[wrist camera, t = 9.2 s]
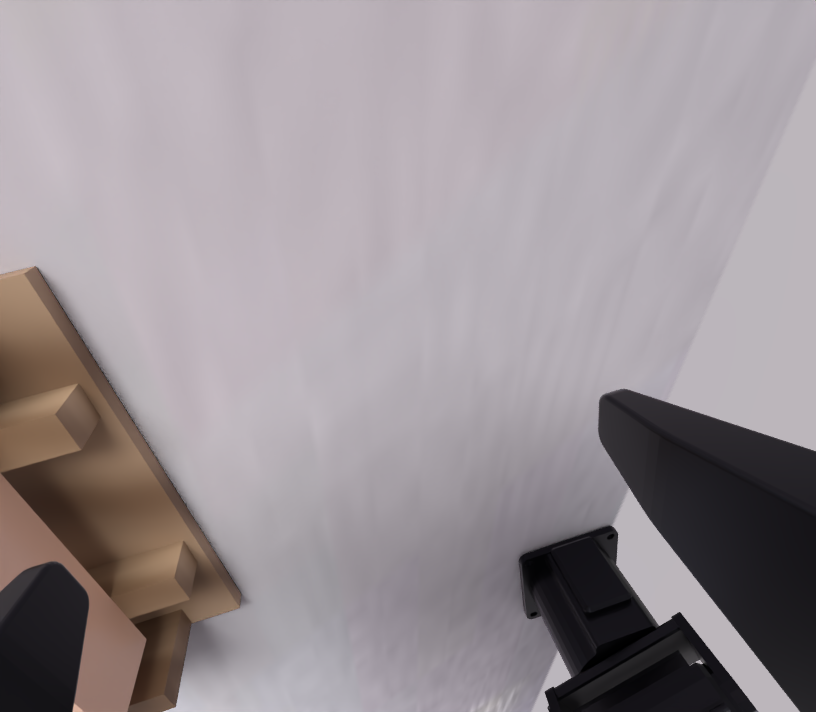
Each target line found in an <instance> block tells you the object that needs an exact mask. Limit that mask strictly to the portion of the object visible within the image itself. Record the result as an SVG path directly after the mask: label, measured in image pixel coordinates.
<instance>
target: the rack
mask: <svg viewBox="0 0 816 712" xmlns="http://www.w3.org/2000/svg"><path fill="white" fill-rule="evenodd" d="M0 473H1V474H2V475H3V477H4V478H5V479H6V480H7V481H8V482H9V483H10V485H11V486H12V487H13V488H14V489H15V490H16V491H17V492H18V494H19V495H20V496H21V497H22V498H23V499H24V500H25V502H26V503H27V504H28V505H29V506H30V507H31V508H32V510H33V511H34V512H35V513H36V514H37V515H38V516H39V517H40V519H41V520H42V521H43V522H44V523H45V524H46V525H47V527H48V528H49V529H50V530H51V531H52V532H53V533H54V535H55V536H56V537H57V538H58V539H59V540H60V541H61V542H62V544H63V545H64V546H65V547H66V548H67V549H68V550H69V552H70V553H71V554H72V555H73V556H74V557H75V558H76V560H77V561H78V562H79V563H80V564H81V565H82V566H83V567H84V569H85V570H86V571H87V572H88V573H89V574H90V575H91V577H92V578H93V579H94V580H95V581H96V582H97V583H98V584H99V586H100V587H101V588H102V589H103V590H104V591H105V592H106V594H107V595H108V596H109V597H110V598H111V599H112V600H113V602H114V603H115V604H116V605H117V606H118V607H119V608H120V609H121V611H122V612H123V613H124V614H125V615H126V616H127V617H128V619H129V620H130V621H131V622H132V623H133V624H134V625H135V627H136V628H137V629H138V630H139V631H140V632H141V633H142V634H143V636H144V637H145V638H146V639H147V640H146V643H145V647H144V651H143V655H142V658H141V662H140V666H139V670H138V674H137V677H136V681H135V685H134V689H133V692H132V696H131V700H130V704H129V707H128V711H127V712H163V711H166V710H168V709H171V708H174V707H176V703H177V698H178V692H179V687H180V682H181V676H182V671H183V666H184V660H185V655H186V650H187V644H188V639H189V634H190V628H191V624H192V623H195V622H198V621H201V620H204V619H207V618H210V617H213V616H216V615H219V614H222V613H226V612H229V611H232V610H235V609H238V608H240V601H241V593H240V592H239V590H238V588H237V587H236V585H235V584H234V582H233V580H232V579H231V577H230V576H229V574H228V572H227V571H226V569H225V568H224V566H223V565H222V563H221V561H220V560H219V558H218V557H217V555H216V553H215V552H214V550H213V549H212V547H211V545H210V544H209V542H208V541H207V539H206V537H205V536H204V534H203V533H202V531H201V529H200V528H199V526H198V525H197V523H196V521H195V520H194V518H193V517H192V515H191V513H190V512H189V510H188V509H187V507H186V505H185V504H184V502H183V501H182V499H181V497H180V496H179V494H178V493H177V491H176V490H175V488H174V486H173V485H172V483H171V482H170V480H169V478H168V477H167V475H166V474H165V472H164V470H163V469H162V467H161V466H160V464H159V462H158V461H157V459H156V458H155V456H154V454H153V453H152V451H151V450H150V448H149V446H148V445H147V443H146V442H145V440H144V438H143V437H142V435H141V434H140V432H139V430H138V429H137V427H136V426H135V424H134V423H133V421H132V419H131V418H130V416H129V415H128V413H127V411H126V410H125V408H124V407H123V405H122V403H121V402H120V400H119V399H118V397H117V395H116V394H115V392H114V391H113V389H112V387H111V386H110V384H109V383H108V381H107V379H106V378H105V376H104V375H103V373H102V371H101V370H100V368H99V367H98V365H97V363H96V362H95V360H94V359H93V357H92V356H91V354H90V352H89V351H88V349H87V348H86V346H85V344H84V343H83V341H82V340H81V338H80V336H79V335H78V333H77V332H76V330H75V328H74V327H73V325H72V324H71V322H70V320H69V319H68V317H67V316H66V314H65V312H64V311H63V309H62V308H61V306H60V304H59V303H58V301H57V300H56V298H55V296H54V295H53V293H52V292H51V290H50V288H49V287H48V285H47V284H46V282H45V281H44V279H43V277H42V276H41V274H40V273H39V271H38V269H37V268H36V266H34V267H30V268H26V269H22V270H18V271H14V272H10V273H6V274H1V275H0Z"/></svg>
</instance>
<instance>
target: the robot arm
mask: <svg viewBox="0 0 816 712" xmlns="http://www.w3.org/2000/svg"><path fill="white" fill-rule="evenodd" d="M598 432H599V437H600V440H601V443H602V445H603V446H604V448H605V450H606V451H607V453H608V454H609V456H610V458H611V459H612V461H613V462H614V464H615V466H616V467H617V469H618V470H619V472H620V473H621V475H622V477H623V478H624V480H625V481H626V483H627V485H628V486H629V488H630V489H631V491H632V492H633V494H634V496H635V497H636V499H637V501H638V502H639V504H640V505H641V507H642V508H643V510H644V511H645V513H646V514H647V516H648V517H649V519H650V520H651V522H652V523H653V524H654V526H655V527H656V528H657V530H658V531H659V532H660V533H661V535H662V536H663V537H664V539H665V540H666V541H667V542H668V544H669V545H670V546H671V548H672V549H673V550H674V551H675V553H676V554H677V555H678V557H679V558H680V559H681V560H682V562H683V563H684V564H685V565H686V566H687V568H688V569H689V570H690V572H691V573H692V574H693V576H694V577H695V578H696V579H697V581H698V582H699V583H700V585H701V586H702V587H703V588H704V590H705V591H706V592H707V593H708V595H709V596H710V597H711V599H712V600H713V601H714V602H715V604H716V605H717V606H718V608H719V609H720V610H721V611H722V613H723V614H724V615H725V616H726V618H727V619H728V620H729V622H730V623H731V624H732V625H733V627H734V628H735V629H736V630H737V632H738V633H739V634H740V636H741V637H742V638H743V639H744V641H745V642H746V643H747V645H748V646H749V647H750V648H751V650H752V651H753V652H754V653H755V655H756V656H757V657H758V659H759V660H760V661H761V662H762V664H763V665H764V666H765V667H766V669H767V670H768V671H769V673H770V674H771V675H772V676H773V678H774V679H775V680H776V681H777V683H778V684H779V685H780V687H781V688H782V689H783V690H784V692H785V693H786V694H787V696H788V697H789V698H790V699H791V701H792V702H793V703H794V705H795V706H796V707H797V708H798V710H799V711H800V712H816V451H813V450H810V449H807V448H804V447H801V446H798V445H795V444H792V443H789V442H786V441H783V440H780V439H777V438H774V437H771V436H768V435H764V434H762V433H758V432H755V431H752V430H749V429H746V428H743V427H740V426H737V425H734V424H731V423H728V422H725V421H722V420H719V419H716V418H713V417H710V416H707V415H704V414H700V413H698V412H695V411H692V410H689V409H685V408H682V407H679V406H676V405H673V404H670V403H667V402H664V401H661V400H658V399H655V398H652V397H649V396H646V395H643V394H640V393H637V392H634V391H631V390H627V389H620V390H616V391H613V392H610V393H606V394H604V395H602V396H601V398H600V400H599V424H598ZM617 542H618V533H617V531H616V530H615V528H614V527H612V526H608V527H605V528H602V529H599V530H596V531H593V532H590V533H587V534H584V535H581V536H578V537H575V538H572V539H569V540H566V541H563V542H560V543H557V544H554V545H551V546H548V547H545V548H542V549H539V550H536V551H533V552H530V553H527V554H524V555H523V556H521V557H520V559H519V566H520V575H521V585H522V594H523V603H524V611H525V614H526V616H527V618H529V619H533V618H537V617H539V616H542V618H543V620H544V622H545V624H546V626H547V628H548V630H549V632H550V634H551V636H552V638H553V640H554V643H555V645H556V647H557V649H558V651H559V653H560V655H561V657H562V659H563V661H564V663H565V665H566V667H567V669H568V671H569V673H570V675H571V677H572V678H571V679H569V680H567V681H566V682H564V683H562V684H561V685H559V686H557V687H555V688H554V687H552V688H550V689H548V690H547V691H545V694H546V698H547V700H548V703H549V706H548V710H549V712H758V711H757V710H756V708H755V707H754V706H753V704H752V703H751V702H750V700H749V699H748V698H747V696H746V695H745V694H744V693H743V691H742V690H741V689H740V687H739V686H738V685H737V684H736V682H735V681H734V680H733V679H732V677H731V676H730V675H729V673H728V672H727V671H726V670H725V668H724V667H723V666H722V664H721V663H720V662H719V661H718V660H717V658H716V657H715V656H714V654H713V653H712V652H711V651H710V649H709V648H708V647H707V646H706V644H705V643H704V642H703V641H702V639H701V638H700V637H699V635H698V634H697V633H696V632H695V630H694V629H693V628H692V627H691V625H690V624H689V623H688V622H687V620H686V619H685V618H684V617H683V615H682V614H681V613H680V612H679V613H677V614H675V615H674V616H672V619H671V620H669V621H667V622H666V623H664V624H662V625H661V626H659V625H658V624H657V622H656V621H655V619H654V618H653V617H652V615H651V614H650V612H649V611H648V610H647V608H646V607H645V605H644V604H643V603H642V601H641V600H640V598H639V597H638V595H637V594H636V593H635V591H634V590H633V588H632V587H631V586H630V584H629V583H628V581H627V580H626V579H625V577H624V576H623V574H622V573H621V571H620V570H619V568H618V567H617V566H616V559H617ZM88 612H89V597H88V594H87V591H86V590H85V588H84V587H83V586H82V585H81V584H80V583H79V582H78V581H77V580H76V578H75V577H74V576H73V575H72V574H71V573H70V572H69V571H68V570H67V569H66V567H65V566H64V565H63V564H61V563H59V562H57V561H50V562H47V563H43V564H40V565H37V566H33V567H30V568H28V569H26V570H24V571H22V572H21V573H20V574H19V575H18V576H17V577H15V578H14V579H13V580H12V581H11V582H10V583H9V584H8V585H7V586H6V587H5V588H4V589H3V590H1V591H0V712H73V707H74V701H75V696H76V690H77V684H78V677H79V671H80V664H81V658H82V651H83V645H84V638H85V632H86V625H87V619H88ZM698 660H701V662H702V663H703V664H698V663H694V662H696V661H698ZM692 663H694V664H692ZM691 664H692V665H691ZM689 665H690V666H689Z"/></svg>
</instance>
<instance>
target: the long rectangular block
mask: <svg viewBox="0 0 816 712" xmlns="http://www.w3.org/2000/svg"><path fill="white" fill-rule="evenodd" d="M50 561H57V562H59V563H61V564H63V565H64V566H65V567H66V569H67V570H68V571H69V572H70V573H71V574H72V575H73V576H74V577H75V578H76V580H77V581H78V582H79V583H80V584H81V585H82V586H83V587H84V588H85V590H86V591H87V594H88V597H89V612H88V619H87V625H86V632H85V638H84V645H83V651H82V658H81V664H80V671H79V677H78V684H77V690H76V696H75V701H74V707H73V712H127V711H128V707H129V704H130V700H131V696H132V692H133V689H134V685H135V681H136V677H137V674H138V670H139V666H140V662H141V658H142V655H143V651H144V647H145V643H146V640H147V639H146V638H145V637H144V636H143V634H142V633H141V632H140V631H139V630H138V629H137V628H136V627H135V625H134V624H133V623H132V622H131V621H130V620H129V619H128V617H127V616H126V615H125V614H124V613H123V612H122V611H121V609H120V608H119V607H118V606H117V605H116V604H115V603H114V602H113V600H112V599H111V598H110V597H109V596H108V595H107V594H106V592H105V591H104V590H103V589H102V588H101V587H100V586H99V584H98V583H97V582H96V581H95V580H94V579H93V578H92V577H91V575H90V574H89V573H88V572H87V571H86V570H85V569H84V567H83V566H82V565H81V564H80V563H79V562H78V561H77V560H76V558H75V557H74V556H73V555H72V554H71V553H70V552H69V550H68V549H67V548H66V547H65V546H64V545H63V544H62V542H61V541H60V540H59V539H58V538H57V537H56V536H55V535H54V533H53V532H52V531H51V530H50V529H49V528H48V527H47V525H46V524H45V523H44V522H43V521H42V520H41V519H40V517H39V516H38V515H37V514H36V513H35V512H34V511H33V510H32V508H31V507H30V506H29V505H28V504H27V503H26V502H25V500H24V499H23V498H22V497H21V496H20V495H19V494H18V492H17V491H16V490H15V489H14V488H13V487H12V486H11V485H10V483H9V482H8V481H7V480H6V479H5V478H4V477H3V475H2V474H1V473H0V591H1V590H3V589H4V588H5V587H6V586H7V585H8V584H9V583H10V582H11V581H12V580H13V579H14V578H15V577H17V576H18V575H19V574H20V573H21V572H22V571H24V570H26V569H28V568H30V567H33V566H37V565H40V564H43V563H47V562H50Z"/></svg>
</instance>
